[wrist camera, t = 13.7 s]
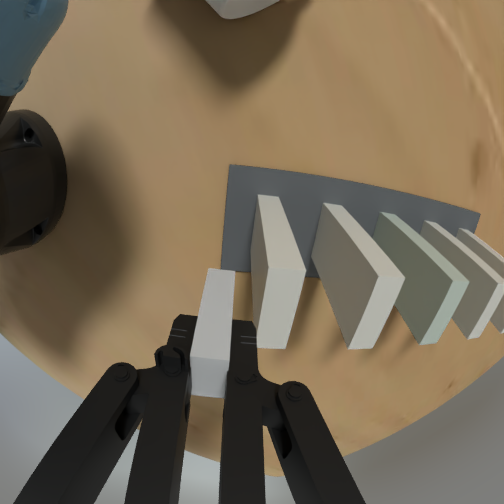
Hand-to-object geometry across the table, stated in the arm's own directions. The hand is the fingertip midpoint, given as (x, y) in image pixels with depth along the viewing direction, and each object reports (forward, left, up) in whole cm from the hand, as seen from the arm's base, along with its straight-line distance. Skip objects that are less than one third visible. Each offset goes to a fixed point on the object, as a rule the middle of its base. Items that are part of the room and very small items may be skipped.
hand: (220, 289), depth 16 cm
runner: (+14, 0, -10) cm, 17 cm away
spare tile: (+15, 0, -10) cm, 18 cm away
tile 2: (+9, 0, -10) cm, 13 cm away
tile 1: (+3, 0, -10) cm, 10 cm away
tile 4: (+21, 0, -10) cm, 23 cm away
